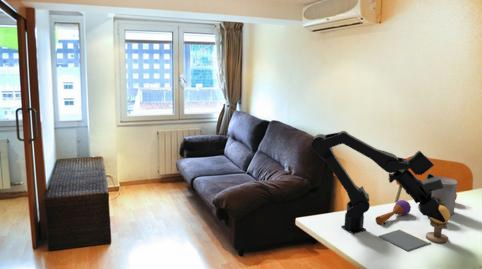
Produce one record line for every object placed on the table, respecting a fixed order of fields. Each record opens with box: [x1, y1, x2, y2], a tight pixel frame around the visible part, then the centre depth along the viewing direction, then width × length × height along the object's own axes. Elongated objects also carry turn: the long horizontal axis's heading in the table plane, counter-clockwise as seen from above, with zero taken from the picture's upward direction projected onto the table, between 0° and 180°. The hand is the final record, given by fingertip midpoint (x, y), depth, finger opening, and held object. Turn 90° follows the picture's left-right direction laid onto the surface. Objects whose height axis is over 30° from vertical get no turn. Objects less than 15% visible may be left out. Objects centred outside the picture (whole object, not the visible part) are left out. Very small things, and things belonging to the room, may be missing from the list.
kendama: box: [375, 199, 412, 226], centre depth 152 cm, size 6×6×20 cm
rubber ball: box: [430, 205, 451, 224], centre depth 133 cm, size 6×6×6 cm
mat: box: [378, 228, 432, 252], centre depth 134 cm, size 12×12×1 cm
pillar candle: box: [431, 176, 458, 216], centre depth 158 cm, size 10×10×15 cm
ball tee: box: [425, 219, 449, 245], centre depth 134 cm, size 7×7×6 cm
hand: (441, 216), depth 133 cm, fingers open, 9 cm apart
